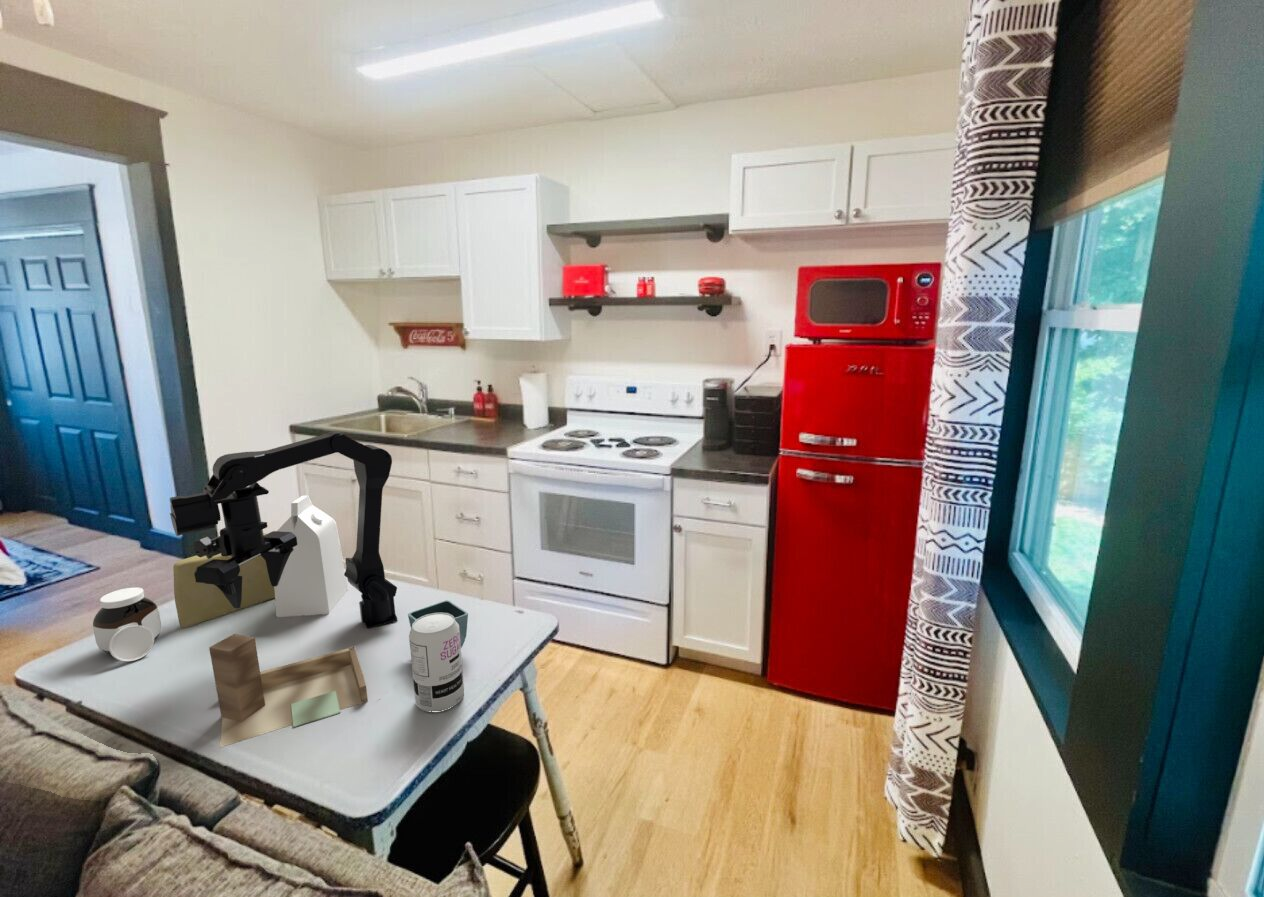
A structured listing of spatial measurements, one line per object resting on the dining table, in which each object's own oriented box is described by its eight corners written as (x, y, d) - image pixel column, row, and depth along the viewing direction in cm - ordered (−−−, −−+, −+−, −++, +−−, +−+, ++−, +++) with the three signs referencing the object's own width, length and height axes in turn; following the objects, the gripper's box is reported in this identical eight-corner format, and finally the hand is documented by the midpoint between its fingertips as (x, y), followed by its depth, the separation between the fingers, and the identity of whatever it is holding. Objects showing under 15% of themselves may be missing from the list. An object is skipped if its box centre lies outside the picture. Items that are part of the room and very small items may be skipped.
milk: (299, 593, 146) (285, 492, 141) (348, 590, 148) (336, 490, 142) (276, 617, 135) (260, 508, 129) (329, 614, 136) (315, 505, 130)
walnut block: (245, 701, 104) (234, 633, 101) (265, 705, 103) (254, 637, 100) (221, 717, 100) (209, 647, 97) (241, 721, 99) (230, 651, 96)
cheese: (192, 634, 128) (180, 569, 125) (170, 623, 132) (158, 560, 129) (292, 593, 147) (284, 536, 143) (270, 585, 151) (262, 529, 148)
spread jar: (141, 632, 129) (131, 582, 126) (184, 637, 126) (175, 587, 124) (81, 663, 117) (68, 609, 115) (127, 669, 115) (115, 614, 112)
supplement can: (422, 687, 108) (415, 612, 105) (468, 684, 109) (462, 609, 106) (410, 716, 100) (402, 635, 97) (459, 713, 101) (453, 633, 98)
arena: (356, 662, 116) (354, 646, 116) (369, 705, 103) (366, 688, 102) (224, 699, 105) (221, 682, 105) (220, 753, 92) (216, 734, 91)
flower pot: (450, 637, 125) (447, 598, 123) (472, 654, 119) (469, 613, 117) (410, 654, 119) (406, 613, 117) (430, 672, 113) (427, 629, 111)
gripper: (246, 503, 122) (258, 573, 125) (160, 537, 104) (177, 617, 107) (293, 505, 120) (304, 576, 123) (214, 540, 102) (230, 622, 105)
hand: (256, 596), depth 115 cm, fingers open, 9 cm apart
